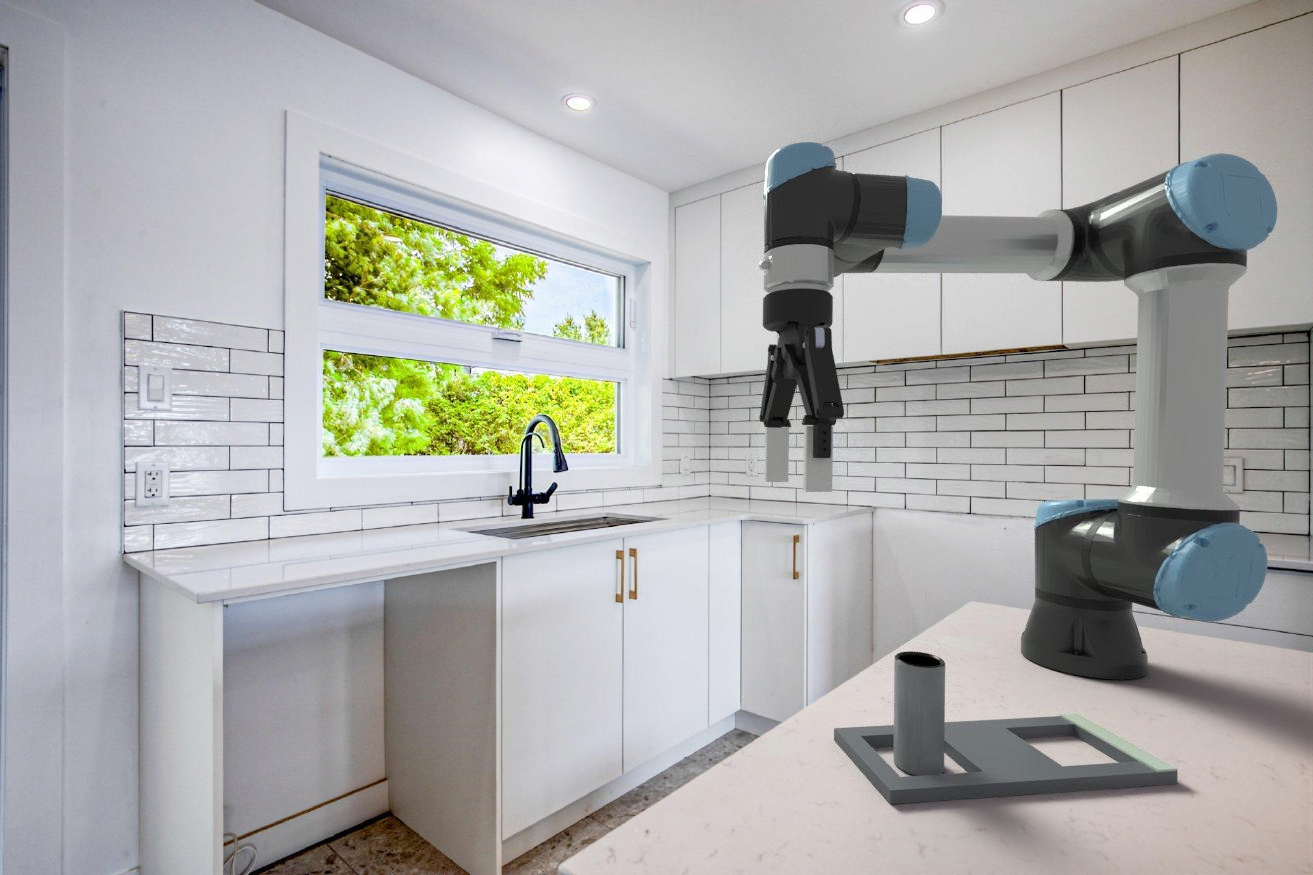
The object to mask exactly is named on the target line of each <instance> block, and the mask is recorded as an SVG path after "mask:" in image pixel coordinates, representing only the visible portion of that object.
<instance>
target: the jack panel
mask: <svg viewBox="0 0 1313 875" xmlns="http://www.w3.org/2000/svg"><path fill="white" fill-rule="evenodd" d="M1066 736H1067V737H1069V736H1074V737H1076V738H1078V739H1080V740H1081V741H1083V742H1084V743H1087V744H1088V745H1089V746H1091V747H1093V748H1095V749H1096V750H1098V751H1100V752H1101V753H1102V754H1105V755H1107V756H1108V757H1110V758H1111V759H1113V760H1115V761H1117V762H1108V763H1093V764H1080V765H1079V764H1075V765H1062V764H1060V763H1058V762H1057V761H1055V760H1054V759H1052V758H1051V757H1050V756H1048V755H1046V754H1045V753H1043V752H1042V751H1040V750H1039V749H1038V748H1036V747H1034V746H1033V745H1031V744H1030V743H1028V742H1027V741H1026V740H1024V739H1031V738H1032V739H1034V738H1046V737H1047V738H1050V737H1051V738H1052V737H1066ZM833 740H834V742H835V743H836V744H837V745H838V746H839V747H840V749H842V751H843V752H844V753H845V754H846V755H847V756H848V758H849V759H850V760H851V761H852V762H853V764H854V765H855V766H856V767H857V768H858V769H859V770H860V772H861V773H862V774H863V775H864V776H865V777H866V778H867V780H868V781H869V782H870V783H871V784H872V785H873V787H875V789H876V790H877V791H878V792H879V793H880V795H882V796H883V798H884V799H885V800H886V801H887V802H888V804H889V805H897V804H898V805H899V804H900V805H901V804H913V803H925V802H926V803H927V802H939V801H942V802H943V801H954V800H969V799H970V800H971V799H983V798H997V797H1010V796H1013V797H1014V796H1025V795H1026V796H1027V795H1038V794H1039V795H1040V794H1053V793H1069V792H1080V791H1082V792H1083V791H1084V792H1085V791H1094V790H1107V789H1109V790H1110V789H1124V788H1136V787H1137V788H1138V787H1151V786H1152V787H1153V786H1154V787H1155V786H1166V785H1168V786H1169V785H1177V784H1178V774H1179V773H1178V772H1179V771H1178V770H1179V768H1177V767H1176V766H1174V765H1172V764H1170V763H1168V762H1167V761H1164V760H1163V759H1161V758H1159V757H1157V756H1155V755H1154V754H1152V753H1149V752H1148V751H1146V750H1144V749H1142V748H1141V747H1139V746H1138V745H1135V744H1133V743H1131V742H1130V741H1128V740H1126V739H1125V738H1122V737H1121V736H1119V735H1118V734H1117V735H1116V734H1115V733H1114V732H1111V731H1110V730H1108V729H1106V728H1104V727H1103V726H1100V725H1098V724H1097V723H1095V722H1094V721H1091V720H1090V719H1088V718H1086V717H1084V716H1082V715H1081V714H1078V713H1060V714H1059V715H1056V716H1055V715H1054V716H1037V717H1018V718H1017V717H1016V718H998V719H996V718H995V719H981V720H980V719H979V720H964V721H961V720H960V721H946V722H945V734H944V754H945V755H947V756H949V758H950V759H952V761H954V762H955V763H956V764H958V765H959V766H960V767H961V768H963V769H964V771H966V772H957V773H955V772H954V773H941V774H937V775H922V776H917V775H911V776H909V775H908V776H900V775H899V774H898V773H897V772H896V770H894V768H893V767H892V766H890V765H889V763H888V762H886V760H885V759H884V758H883V757H882V756H881V755H880V754H879V753H878V752H877V751H876V750H875V749H874V748H878V747H879V748H880V747H882V748H883V747H894V724H889V725H887V724H886V725H885V724H884V725H869V726H852V727H834V728H833Z"/></svg>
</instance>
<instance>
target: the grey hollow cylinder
mask: <svg viewBox="0 0 1313 875" xmlns="http://www.w3.org/2000/svg"><path fill="white" fill-rule="evenodd" d="M893 666H894V673H893V674H894V675H893V676H894V677H893V678H894V680H893V681H894V682H893V688H894V690H893V725H894V746H893V763H894V764H895V766H896V767H897V768H899V770H902V772H903V771H904V772H905V773H908V774H910V775H912V776H922V775H937V774H943V773H944V770H945V769H944V768H945V752H944V734H945V721H946V719H945V715H946V714H945V713H946V662H945V660H943V659H942V658H941V657H939V656H937V655H935V654H931V653H928V652H921V651H900V652H898V653H896V654H895V655H894V665H893Z"/></svg>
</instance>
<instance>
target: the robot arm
mask: <svg viewBox="0 0 1313 875" xmlns="http://www.w3.org/2000/svg"><path fill="white" fill-rule="evenodd" d="M836 168H837V163H836V157H835V153H834V151H833V150H832V148H830V147H829V146H828V145H827V146H826V145H822V144H821V143H820V142H811V141H802V142H794V143H791V144H787V145H784V146H782V147H780V148H779V149H776V150H775V151H774V152H773V153H772V154H771V156H769V158H768V159H767V162H766V167H765V175H764V186H763V188H764V189H763V195H762V200H763V233H764V234H763V235H764V236H763V238H764V240H763V242H764V244H763V245H764V248H763V260H761V261H760V262H759V264H758V266H759V270H762V271H764V273H763V290H764V291H765V292H766V294H765V296H763V299H762V327H763V328H764V329H765V330H766V331H769V332H771V333H772V332H776V333H777V334H778V338H777V339H778V340H777V344H769V345H768V347H767V365H766V372H765V377H764V385H763V392H762V397H761V398H762V399H761V404H760V405H761V407H760V412H759V422H760V423H763V426H764V432H765V433H764V482H765V483H789V466H790V464H789V461H790V460H789V459H790V458H789V452H790V451H789V450H790V448H789V446H790V444H789V442H790V440H789V439H790V428H791V427H792V423H791V421H790V419H788V418H789V414H790V411H791V408H792V403H793V399H794V397H795V393H796V390H797V387H798V391H799V396H800V397H801V402H802V404H803V409H804V411H805V412H804V413H805V414H804V416H803V417H802V420H801V425H802V426H803V479H802V480H803V484H802V485H803V490H802V492H805V493H808V492H809V493H828V492H829V493H832V492H833V466H834V465H833V464H834V463H833V462H834V461H833V460H834V459H833V456H834V455H833V454H834V453H833V451H834V450H833V449H834V446H833V445H834V444H833V442H834V439H833V438H834V426H835V425H836V424H837V419H843V418H844V415H845V408H844V404H843V398H842V393H841V388H840V382H839V377H838V372H837V368H836V367H837V366H836V362H835V357H834V352H833V336H832V335H833V334H832V329H831V327H832V325H833V321H834V320H833V317H834V315H833V310H834V309H833V308H834V305H833V304H834V296H833V295H832V294H831V292H830V291H831V290H832V289H833V288H834V287H835V286H834V285H835V284H834V282H835V281H834V280H835V279H834V278H836V277H839V276H840V275H841V274H1026V275H1027V276H1028V277H1029V278H1030V279H1031V280H1034V281H1036V282H1037V281H1039V282H1074V283H1075V282H1076V283H1079V282H1080V283H1082V282H1084V283H1085V282H1086V283H1089V282H1091V283H1103V282H1104V283H1106V282H1107V283H1108V282H1120V281H1123V286H1125V287H1126V288H1128V290H1130V291H1132V292H1133V294H1135V295H1136V296H1137V298H1138V302H1137V329H1136V330H1137V334H1136V336H1137V337H1136V371H1135V373H1136V374H1135V401H1134V404H1135V406H1134V434H1133V435H1134V440H1133V441H1134V442H1133V444H1134V445H1133V470H1132V471H1133V474H1132V475H1133V476H1132V480H1133V481H1132V486H1131V487H1130V488H1129V489H1128V490H1127V491H1126V492H1124V493H1122V495H1120V496H1119V497H1118V498H1103V499H1102V498H1099V499H1059V500H1057V499H1056V500H1055V499H1054V500H1046V501H1044V502H1042V503H1040V504H1039V505H1038V507H1037V509H1036V513H1035V514H1036V518H1035V524H1034V527H1033V530H1034V602H1033V605H1032V608H1031V610H1030V612H1029V613H1030V614H1029V616H1028V619H1027V622H1026V624H1025V628H1024V631H1023V632H1022V633H1021V636H1020V653H1021V654H1022V656H1024V657H1025V658H1026V659H1028V660H1029V661H1031V662H1033V663H1035V664H1037V665H1040V666H1043V667H1045V668H1047V669H1052V670H1056V671H1058V672H1062V673H1067V674H1072V675H1077V676H1080V677H1089V678H1096V679H1104V680H1105V679H1107V680H1132V679H1133V680H1134V679H1139V678H1142V677H1145V676H1147V674H1148V672H1149V669H1148V668H1149V661H1148V660H1149V659H1148V658H1149V657H1148V653H1147V650H1146V649H1145V648H1144V647H1143V642H1142V637H1141V635H1140V631H1139V629H1138V625H1137V623H1136V620H1135V617H1134V614H1133V604H1136V605H1140V606H1143V607H1145V608H1146V607H1147V608H1150V609H1154V610H1157V611H1161V612H1163V613H1164V614H1166V615H1170V616H1171V617H1175V618H1187V619H1189V620H1190V619H1191V620H1196V621H1200V622H1206V623H1207V622H1220V621H1224V620H1228V619H1231V618H1233V617H1235V616H1237V615H1238V614H1240V613H1241V612H1243V611H1245V609H1246V607H1247V606H1248V605H1250V604H1252V603H1253V602H1254V600H1255V599H1256V598H1257V597H1258V595H1259V593H1260V592H1261V590H1262V588H1263V586H1264V583H1265V580H1266V577H1267V573H1268V572H1267V571H1268V563H1269V562H1268V555H1267V550H1266V546H1265V545H1264V544H1263V543H1261V542H1260V541H1261V538H1260V537H1259V536H1258V534H1256V532H1254V531H1253V530H1251V529H1249V528H1248V527H1246V526H1244V525H1241V524H1240V518H1241V517H1240V516H1241V508H1240V507H1241V506H1240V505H1239V504H1238V503H1237V502H1236V501H1234V500H1233V499H1232V498H1231V497H1230V496H1228V495H1227V494H1226V492H1225V491H1224V476H1225V475H1224V473H1225V472H1224V471H1225V470H1224V469H1225V438H1226V437H1225V434H1226V403H1227V402H1226V400H1227V399H1226V398H1227V369H1228V368H1227V363H1228V362H1227V360H1228V359H1227V358H1228V332H1229V331H1228V329H1229V328H1228V327H1229V326H1228V325H1229V323H1228V322H1229V297H1230V296H1229V290H1230V288H1231V286H1232V285H1234V284H1235V283H1236V282H1237V281H1239V279H1240V278H1242V277H1243V276H1244V275H1245V274H1247V267H1248V266H1247V265H1248V251H1249V250H1252V249H1254V248H1257V247H1258V246H1259V245H1260V244H1263V242H1265V241H1266V240H1267V239H1268V237H1269V234H1271V233H1272V232H1273V231H1274V229H1275V226H1276V224H1277V220H1278V202H1277V197H1276V195H1275V191H1274V189H1273V186H1272V184H1271V183H1270V181H1269V180H1268V179H1267V177H1266V175H1265V174H1263V173H1262V172H1261V171H1260V170H1259V168H1258V167H1257V166H1256V165H1255V164H1254V163H1252V162H1250V161H1249V160H1247V159H1246V158H1244V157H1241V156H1239V155H1235V154H1230V153H1223V152H1222V153H1212V154H1207V155H1204V156H1202V157H1199V158H1197V159H1193V160H1190V161H1185V162H1183V163H1178V164H1177V165H1175V166H1173V167H1172V168H1171V169H1169V170H1166V171H1164V172H1162V173H1159V174H1157V175H1154V176H1153V177H1150V178H1147V179H1146V180H1143V181H1140V182H1139V183H1136V184H1133V185H1132V186H1129V187H1127V188H1125V189H1122V190H1120V191H1117V192H1115V193H1112V194H1109V195H1107V196H1105V197H1103V198H1100V199H1098V200H1095V201H1091V202H1089V203H1086V204H1082V205H1080V206H1075V207H1072V208H1066V209H1056V208H1055V209H1047V210H1044V211H1042V212H1040V213H1039V214H1037V215H1035V216H1000V215H999V216H998V215H997V216H996V215H993V216H992V215H990V216H989V215H945V214H942V212H943V209H942V208H943V197H942V193H941V190H940V188H939V187H938V186H937V184H936V183H935V182H934V181H932V180H930V179H922V178H918V177H917V178H916V177H910V176H909V175H907V174H906V175H905V174H904V175H903V176H902V175H889V174H888V175H886V174H873V173H860V172H848V171H846V170H839V169H836Z"/></svg>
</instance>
